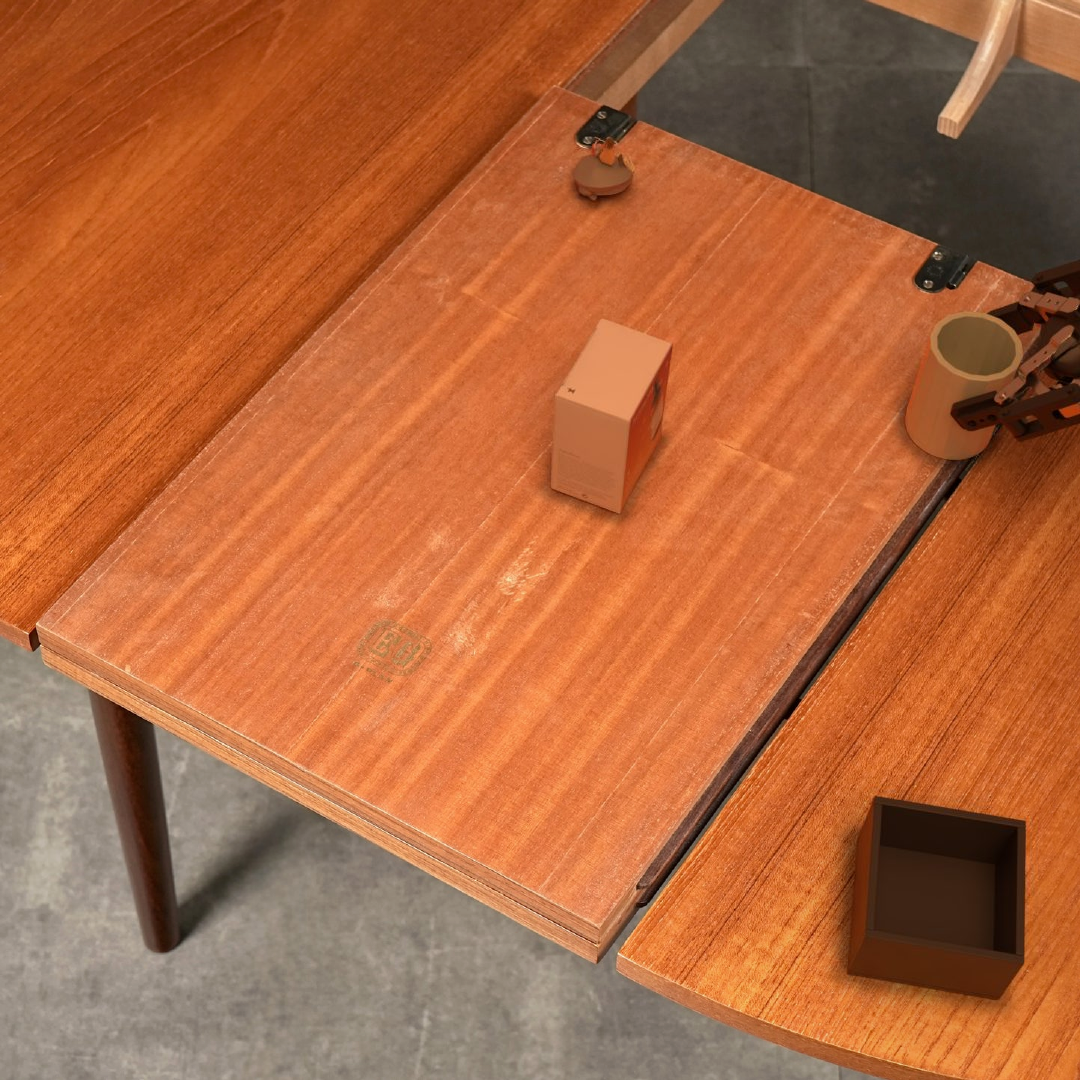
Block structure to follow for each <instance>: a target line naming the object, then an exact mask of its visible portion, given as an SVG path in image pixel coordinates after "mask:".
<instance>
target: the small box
mask: <svg viewBox="0 0 1080 1080" xmlns="http://www.w3.org/2000/svg"><path fill="white" fill-rule="evenodd" d="M673 347H674V344H673V343H672V342H669V341H666V340H664V339H662V338H659V337H656V336H653V335H650V334H649V333H646V332H645V333H644V332H642V331H639V330H636V329H634V328H631V327H628V326H625V325H623V324H620V323H616V322H614V321H611V320H608V319H606V318H602V317H601V318H599V319H598V321H597V324H596V325H595V327H594V329H593V331H592V333H591V335H590V336H589V338H588V340H587V342H586V344H585V345H584V347H583V349H582V350H581V352H580V354H579V356H578V357H577V359H576V360H575V362H574V364H573V366H572V367H571V369H570V370H569V373H568V374H567V376H566V377H565V379H563V382H562V384H560V386H559V387H558V389H557V391H556V392H555V394H554V400H553V401H554V404H553V423H552V424H553V426H552V441H551V442H552V443H551V466H550V470H551V471H550V472H551V473H550V488H551V489H552V490H555V491H556V492H560V493H563V494H565V495H568V496H570V497H573V498H576V499H578V500H581V501H584V502H587V503H590V504H591V505H595V506H597V507H600V508H603V509H605V510H608V511H610V512H613V513H616V514H619V515H620V514H621V513H622V512H623V510H624V508H625V506H626V503H627V502H628V499H629V497H630V496H631V494H632V492H633V490H634V488H635V487H636V485H637V482H638V480H639V479H640V477H641V475H642V473H643V471H644V470H645V468H646V466H647V464H648V463H649V460H650V459H651V456H652V454H653V453H654V452H655V450H656V447H657V445H658V444H659V442H660V441H661V437H662V427H663V419H664V414H665V406H666V399H667V391H668V385H669V377H670V369H671V363H672V362H671V361H672V354H673V349H674V348H673Z"/></svg>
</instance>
